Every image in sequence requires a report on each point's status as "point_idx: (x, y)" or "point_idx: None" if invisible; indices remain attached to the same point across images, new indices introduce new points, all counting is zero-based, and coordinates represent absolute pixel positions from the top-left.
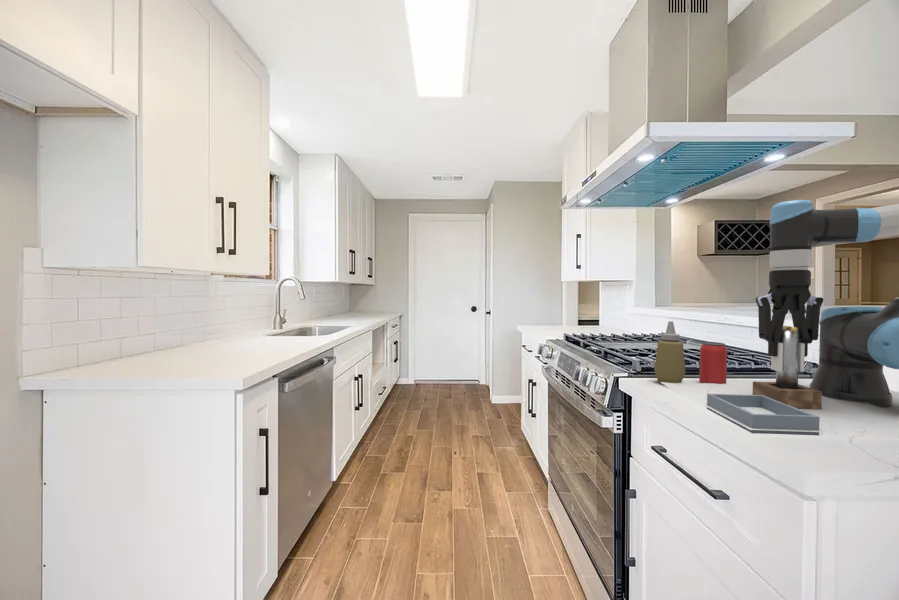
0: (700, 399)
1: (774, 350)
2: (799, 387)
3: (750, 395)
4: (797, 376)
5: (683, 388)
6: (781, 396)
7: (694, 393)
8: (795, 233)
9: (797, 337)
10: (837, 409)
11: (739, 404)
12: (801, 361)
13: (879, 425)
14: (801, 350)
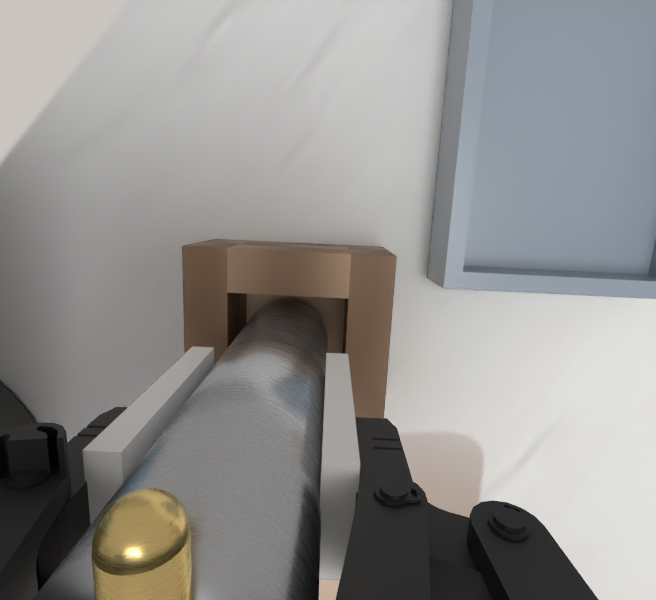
0: (568, 430)
1: (382, 444)
2: (228, 337)
3: (509, 279)
4: (244, 331)
5: None
6: (380, 252)
7: None
8: None
9: (150, 477)
10: (94, 312)
11: (541, 270)
12: (187, 371)
13: (100, 95)
14: (150, 414)
